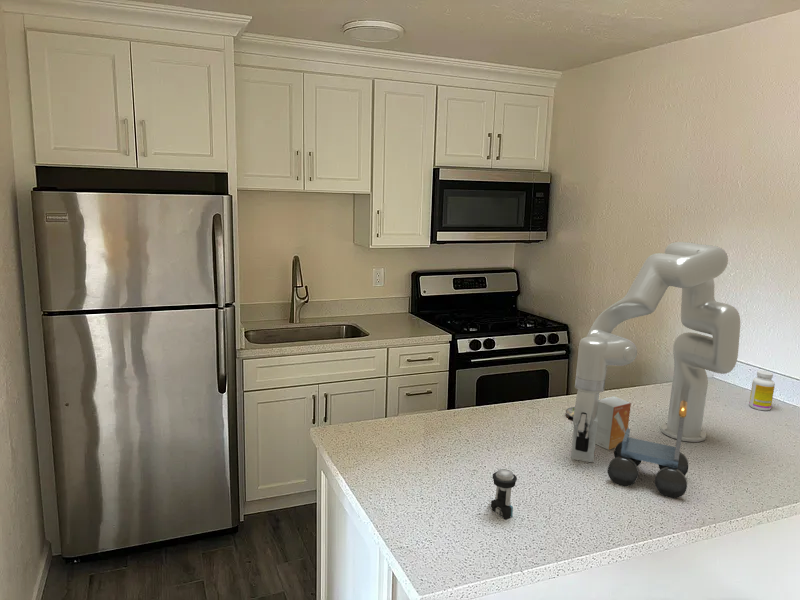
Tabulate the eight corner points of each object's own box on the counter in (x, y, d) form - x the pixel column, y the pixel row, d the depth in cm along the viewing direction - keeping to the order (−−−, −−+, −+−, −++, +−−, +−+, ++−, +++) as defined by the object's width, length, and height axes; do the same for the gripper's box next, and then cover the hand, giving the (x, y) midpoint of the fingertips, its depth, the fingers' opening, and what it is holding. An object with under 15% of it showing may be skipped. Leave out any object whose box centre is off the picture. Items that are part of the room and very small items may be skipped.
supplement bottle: (774, 411, 205) (780, 376, 203) (755, 410, 205) (761, 375, 203) (763, 404, 212) (769, 370, 209) (744, 403, 212) (750, 369, 209)
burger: (562, 421, 190) (564, 399, 188) (567, 409, 200) (569, 388, 199) (602, 428, 185) (604, 405, 184) (604, 415, 196) (607, 394, 194)
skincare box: (593, 456, 164) (598, 415, 162) (593, 463, 160) (598, 421, 158) (571, 452, 166) (575, 412, 164) (570, 459, 162) (574, 417, 160)
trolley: (613, 461, 162) (622, 386, 158) (686, 478, 154) (697, 399, 150) (606, 482, 150) (615, 401, 146) (684, 501, 142) (696, 417, 138)
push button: (480, 509, 135) (483, 468, 133) (496, 502, 138) (499, 462, 136) (502, 523, 130) (505, 480, 128) (518, 515, 133) (522, 474, 131)
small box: (608, 450, 169) (613, 407, 166) (590, 442, 174) (595, 400, 171) (626, 444, 173) (631, 402, 171) (608, 436, 178) (613, 395, 176)
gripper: (581, 372, 168) (575, 433, 172) (569, 389, 153) (562, 455, 157) (609, 377, 165) (602, 439, 168) (599, 395, 150) (592, 462, 154)
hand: (583, 446), depth 163 cm, fingers closed on skincare box, 4 cm apart
